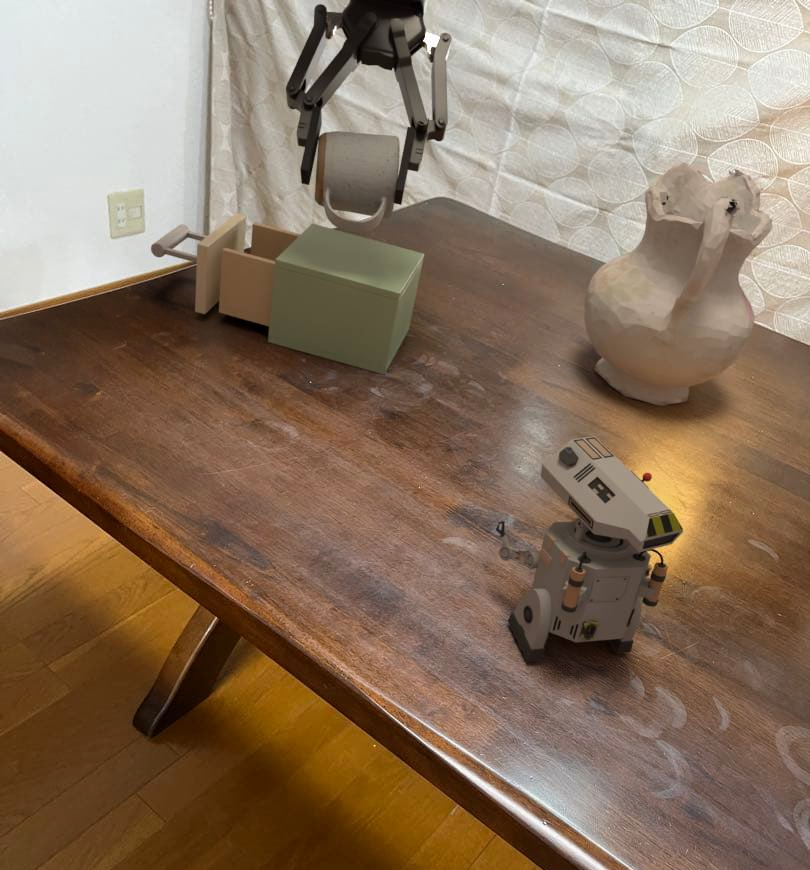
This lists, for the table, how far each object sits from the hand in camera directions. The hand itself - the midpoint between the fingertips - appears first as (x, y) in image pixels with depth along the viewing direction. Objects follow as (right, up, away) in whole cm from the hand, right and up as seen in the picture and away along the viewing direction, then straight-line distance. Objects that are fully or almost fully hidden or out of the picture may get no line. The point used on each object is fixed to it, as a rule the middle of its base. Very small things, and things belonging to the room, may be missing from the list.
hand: (351, 187), depth 83 cm
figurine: (+17, -41, -14) cm, 46 cm away
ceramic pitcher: (+34, -15, +22) cm, 44 cm away
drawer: (-14, -6, +17) cm, 23 cm away
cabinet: (-2, -10, +17) cm, 20 cm away
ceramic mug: (0, -1, +5) cm, 5 cm away
